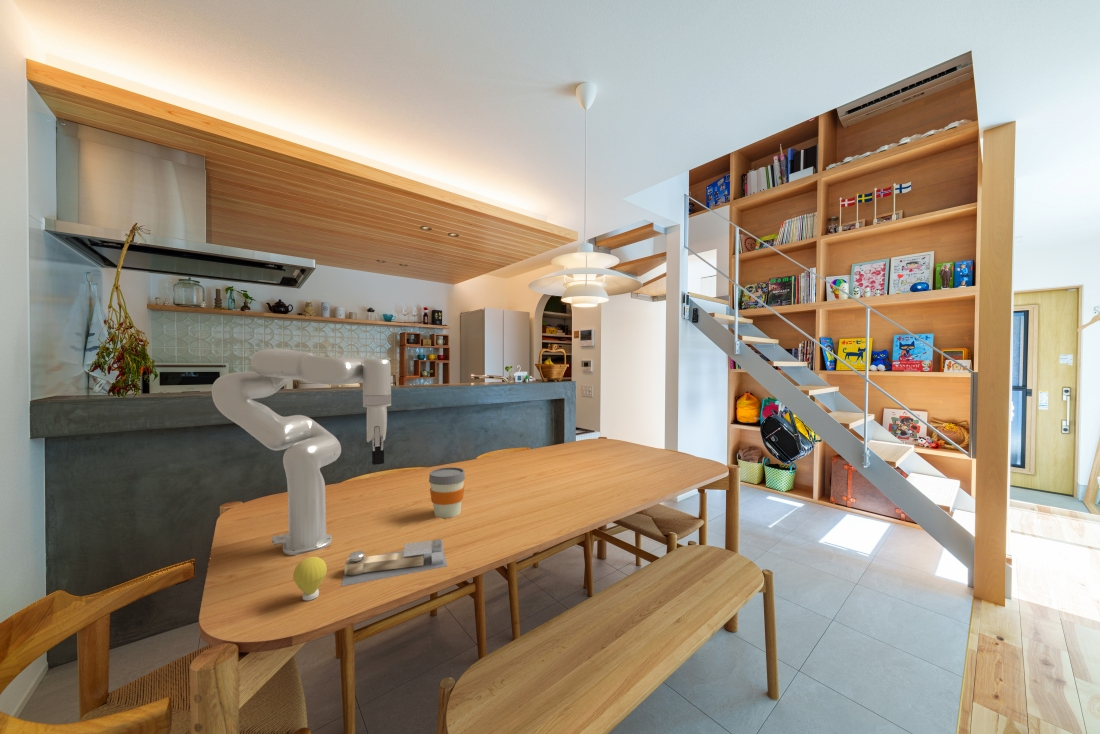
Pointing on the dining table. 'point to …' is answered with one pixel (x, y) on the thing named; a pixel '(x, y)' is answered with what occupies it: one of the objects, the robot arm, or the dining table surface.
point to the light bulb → (310, 576)
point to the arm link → (382, 563)
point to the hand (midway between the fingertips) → (378, 463)
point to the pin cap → (356, 556)
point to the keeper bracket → (426, 549)
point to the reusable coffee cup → (447, 491)
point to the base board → (392, 571)
